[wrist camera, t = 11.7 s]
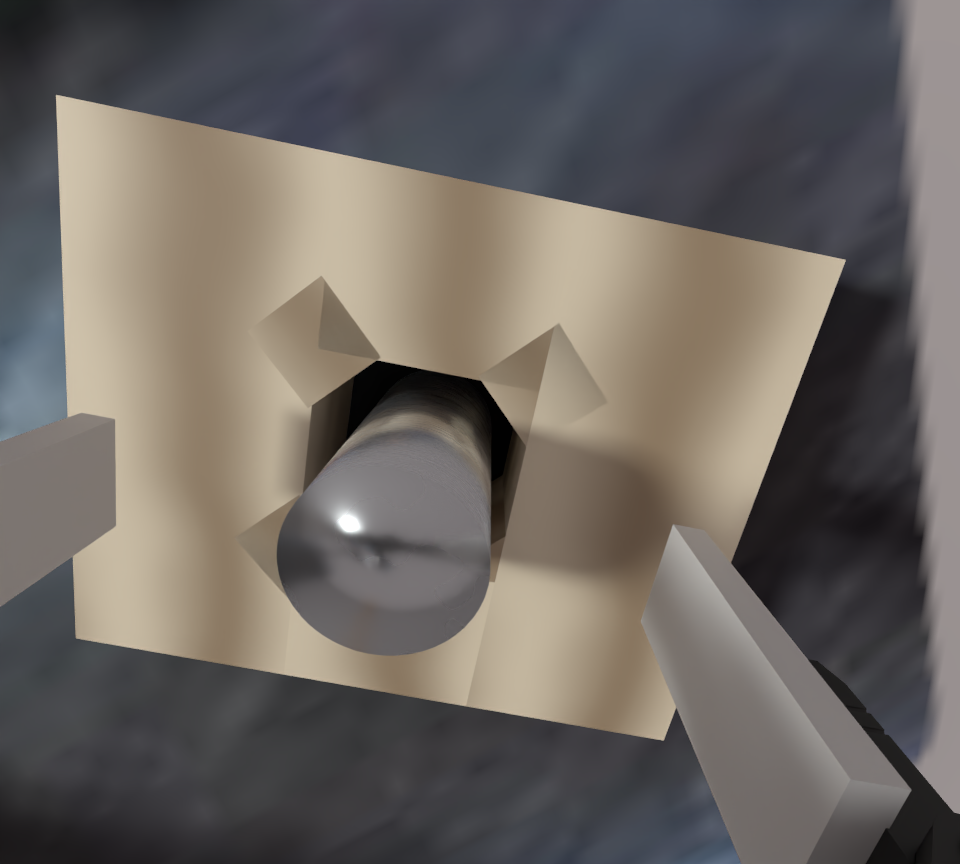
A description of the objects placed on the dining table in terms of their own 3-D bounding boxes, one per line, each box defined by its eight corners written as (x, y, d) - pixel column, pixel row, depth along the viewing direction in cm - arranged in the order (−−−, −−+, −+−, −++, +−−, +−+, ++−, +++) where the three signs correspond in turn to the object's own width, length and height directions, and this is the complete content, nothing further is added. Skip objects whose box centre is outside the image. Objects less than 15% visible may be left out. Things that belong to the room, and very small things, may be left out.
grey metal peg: (369, 468, 21) (269, 636, 12) (384, 359, 20) (285, 447, 10) (480, 489, 21) (469, 671, 12) (502, 382, 20) (510, 488, 11)
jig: (163, 559, 23) (76, 638, 18) (172, 140, 18) (56, 94, 13) (628, 642, 23) (663, 740, 19) (755, 260, 19) (845, 259, 14)
